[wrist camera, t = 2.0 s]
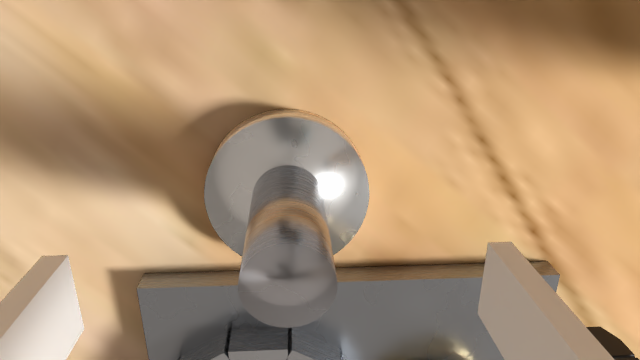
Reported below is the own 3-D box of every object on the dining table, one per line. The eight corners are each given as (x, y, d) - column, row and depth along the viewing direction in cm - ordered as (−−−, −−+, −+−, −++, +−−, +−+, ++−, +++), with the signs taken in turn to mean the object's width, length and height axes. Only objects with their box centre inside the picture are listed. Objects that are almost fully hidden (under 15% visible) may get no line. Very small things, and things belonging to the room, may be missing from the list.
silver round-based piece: (203, 109, 20) (155, 182, 13) (367, 108, 21) (411, 178, 13) (215, 253, 23) (182, 381, 16) (361, 249, 24) (394, 372, 16)
